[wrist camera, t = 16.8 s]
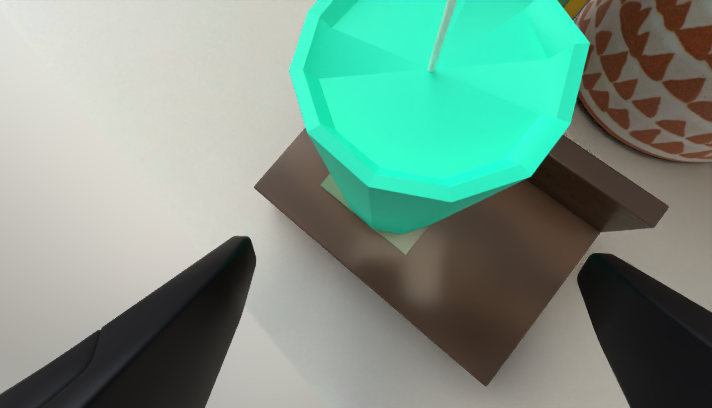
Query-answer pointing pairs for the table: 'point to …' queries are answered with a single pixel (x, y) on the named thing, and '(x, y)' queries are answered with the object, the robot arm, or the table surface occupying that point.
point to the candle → (434, 99)
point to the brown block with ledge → (470, 246)
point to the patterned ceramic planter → (651, 74)
